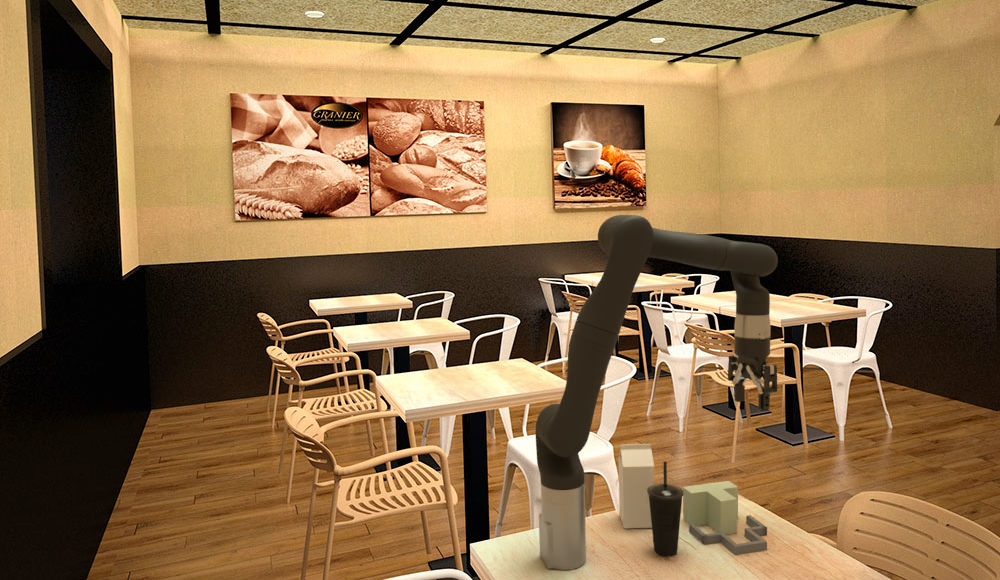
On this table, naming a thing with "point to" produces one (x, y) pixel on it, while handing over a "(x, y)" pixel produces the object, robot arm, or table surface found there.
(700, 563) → the table surface
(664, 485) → the drinking cup
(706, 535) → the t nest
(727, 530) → the t block
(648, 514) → the milk carton
